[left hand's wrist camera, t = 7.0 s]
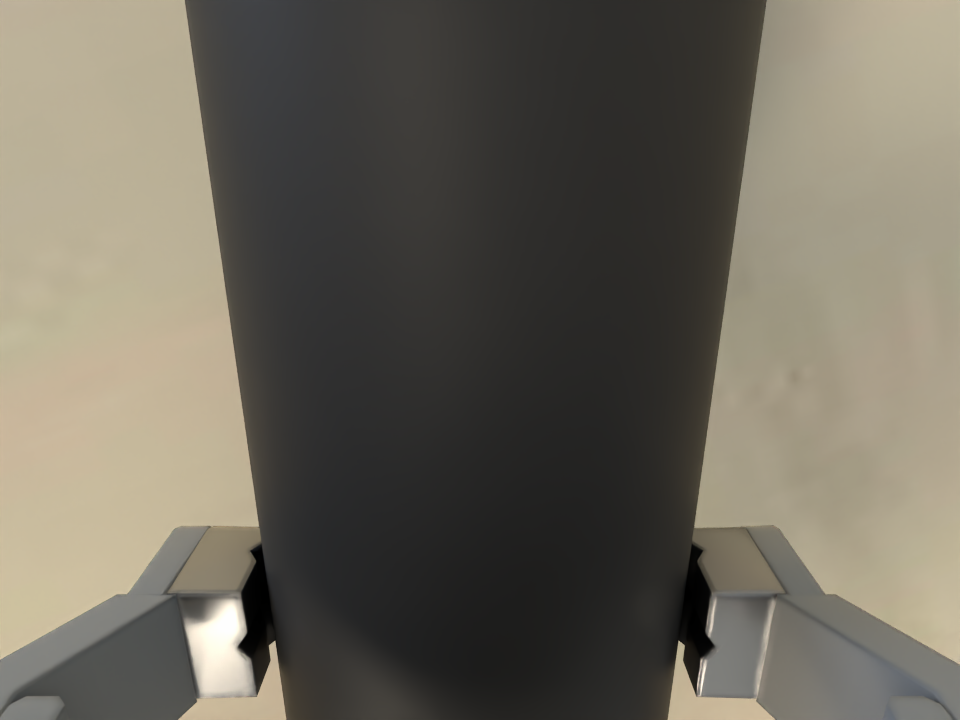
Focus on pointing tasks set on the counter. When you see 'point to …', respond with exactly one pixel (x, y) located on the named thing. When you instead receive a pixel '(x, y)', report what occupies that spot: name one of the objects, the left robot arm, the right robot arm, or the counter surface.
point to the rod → (476, 334)
